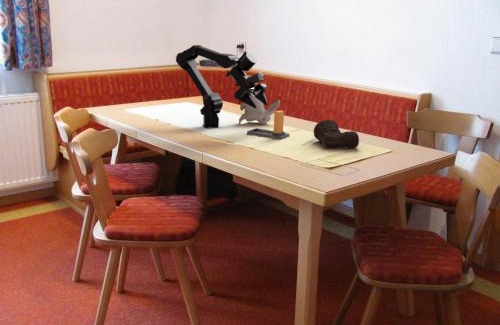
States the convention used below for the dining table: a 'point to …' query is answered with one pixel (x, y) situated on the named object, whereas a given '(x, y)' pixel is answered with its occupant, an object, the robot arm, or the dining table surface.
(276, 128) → the breaker toggle
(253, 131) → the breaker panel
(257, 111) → the toy
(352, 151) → the dining table surface
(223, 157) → the dining table surface
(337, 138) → the dark brown bent piece
